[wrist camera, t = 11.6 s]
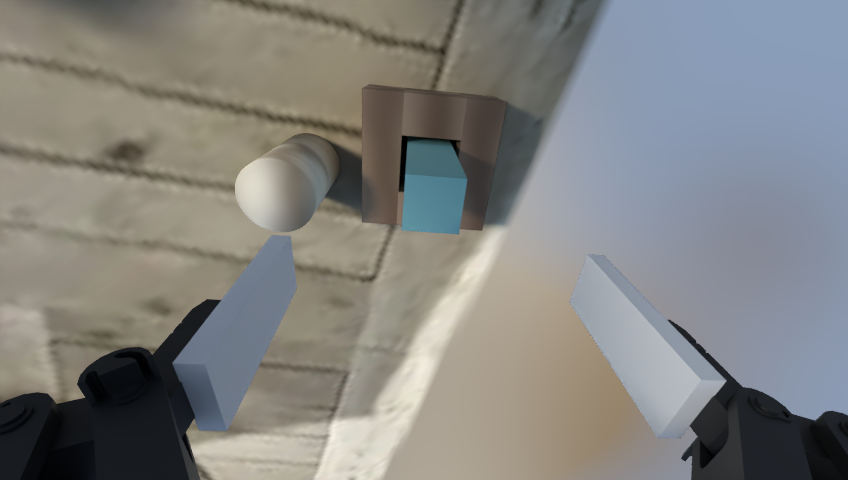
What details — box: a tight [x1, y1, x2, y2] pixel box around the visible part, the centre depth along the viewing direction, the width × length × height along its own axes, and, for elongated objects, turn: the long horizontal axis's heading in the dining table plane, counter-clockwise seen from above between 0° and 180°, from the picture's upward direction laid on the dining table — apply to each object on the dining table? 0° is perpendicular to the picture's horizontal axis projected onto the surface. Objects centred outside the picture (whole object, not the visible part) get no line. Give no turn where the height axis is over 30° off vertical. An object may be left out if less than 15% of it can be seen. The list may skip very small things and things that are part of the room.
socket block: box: [362, 84, 507, 231], centre depth 32 cm, size 12×12×5 cm
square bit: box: [402, 136, 467, 234], centre depth 28 cm, size 4×4×14 cm
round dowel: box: [235, 133, 340, 232], centre depth 30 cm, size 6×6×10 cm
